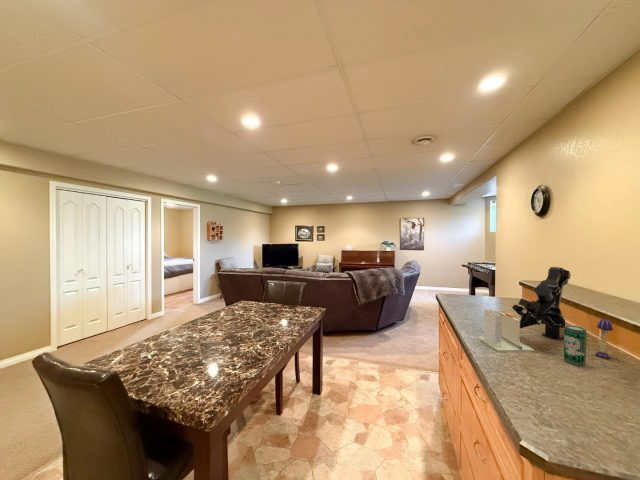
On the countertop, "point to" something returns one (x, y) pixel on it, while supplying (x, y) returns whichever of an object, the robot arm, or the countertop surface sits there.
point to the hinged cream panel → (510, 329)
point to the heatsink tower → (493, 327)
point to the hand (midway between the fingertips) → (519, 327)
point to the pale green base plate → (507, 346)
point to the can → (575, 345)
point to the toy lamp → (604, 337)
